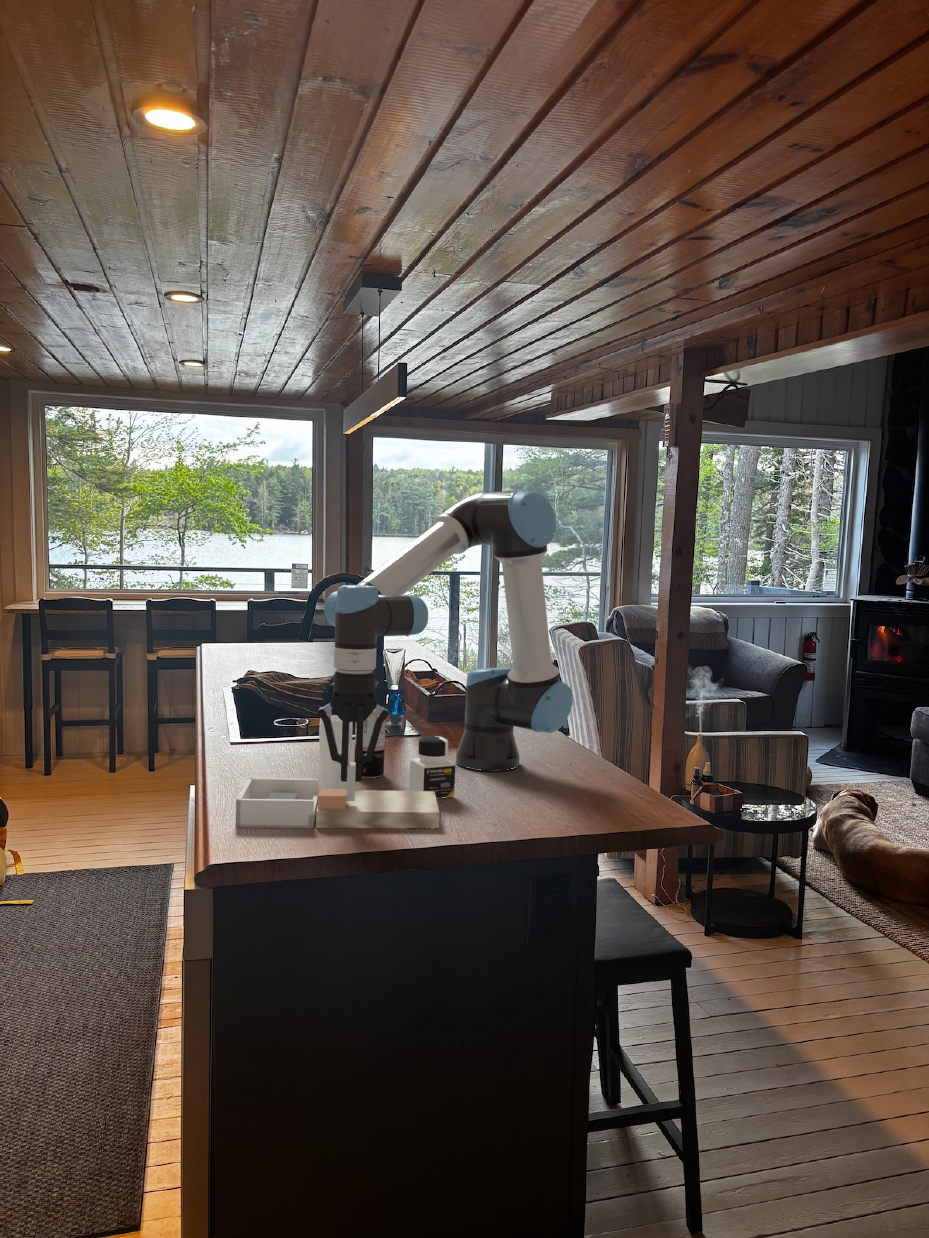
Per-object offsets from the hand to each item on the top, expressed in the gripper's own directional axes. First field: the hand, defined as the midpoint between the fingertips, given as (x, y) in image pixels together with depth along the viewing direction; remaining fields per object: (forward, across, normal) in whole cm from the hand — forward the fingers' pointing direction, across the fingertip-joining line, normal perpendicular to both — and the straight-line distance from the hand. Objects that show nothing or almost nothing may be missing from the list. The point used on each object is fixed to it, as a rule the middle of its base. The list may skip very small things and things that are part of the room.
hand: (350, 798), depth 160 cm
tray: (+4, -13, +4) cm, 14 cm away
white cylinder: (+5, -4, +22) cm, 22 cm away
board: (+4, +5, +4) cm, 8 cm away
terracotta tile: (+1, -3, 0) cm, 3 cm away
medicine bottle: (+5, +16, +18) cm, 25 cm away
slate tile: (+1, -13, +6) cm, 14 cm away
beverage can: (+5, +3, +34) cm, 34 cm away
